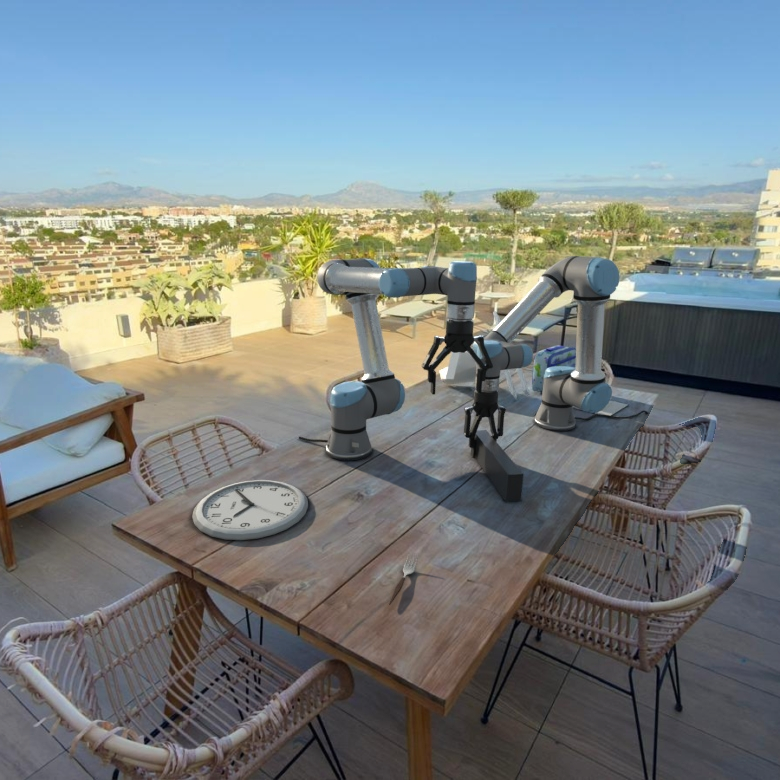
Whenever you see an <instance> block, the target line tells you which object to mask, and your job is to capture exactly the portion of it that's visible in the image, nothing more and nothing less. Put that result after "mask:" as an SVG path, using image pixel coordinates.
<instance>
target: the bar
mask: <svg viewBox="0 0 780 780" xmlns="http://www.w3.org/2000/svg"><path fill="white" fill-rule="evenodd" d="M475 438H476V454H475V458H474V459H475V460H476V462H477V463H478V464H479V465H480V467H481V468H482V470H483V472H484V473H485V474H486V476H487V477H488V478H489V480H490V481H491V483H492V484H493V486H494V487H495V488H496V490H497V491H498V492H499V495H500V496H501V497H502V499H503V500H504V501H505V503H506V502H507V503H509V502H521V501H522V495H523V484H524V472H522V470H521V469H520V468H519V467H518V466H517V464H516V463H515V462H514V461H513V460H512V458H511V457H510V455H508V453H506V451H505V450H504V449H503V448H502V447H501V446H500V445H499V443H498V442H496V441H495V440H494V439H493V438H492V434H490V433H489V432H488V430H486V429H482V430H481V429H480V430H479V429H477V432H476V435H475Z"/></svg>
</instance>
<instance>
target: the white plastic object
mask: <svg viewBox="0 0 780 780" xmlns="http://www.w3.org/2000/svg"><path fill="white" fill-rule="evenodd" d="M492 315H493V319H494V321H495V324H496V325H495V326H497V325H498V324H499V323H500V322H501V321H502V320H501V318H500V315H499V314H498V312H497V311H496V310H495V311H492ZM470 347H471V348H472V349H473V346H470ZM473 351H474V350H473ZM515 369H516V372H517V376H518V380H519V382H520V385H521V389H522V391H523V393H524V395H525V396H526V397H528V396H531V395H530V390H529V388H528V387H529V386H528V384H527V381H526V378H525V375H524V371H523V367H522V368H515ZM438 372H439V376H440V381H442V383H443V384H444V385H445V386H449V385H458V384H467V383H468V384H469V383H473V384H475V380H476V362H475V360H474V359H473V358H472V356H471V355H470V354H469V353H468V352H467V351H466V352H465V353H461V352H457V353H453V352H451V353H450V357H449V362H448V366H446V367H444V368H442V369H440V370H439V371H438ZM503 373H504V376H505V380H506V383H507V386H508V390H509V393H510V394H511V395H512V397H513V398H514V399H515V400H517V392H516V391H517V390H516V388H515V385H514V381H513V378H512V375H511V371H510V369H506V370H503Z"/></svg>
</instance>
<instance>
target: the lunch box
mask: <svg viewBox="0 0 780 780" xmlns="http://www.w3.org/2000/svg"><path fill="white" fill-rule="evenodd" d="M555 366H568V367H575V366H576V347H571V346H565V345H553V346H550V347H546V348H545V349H542V350H539V351H538V352H537V353H536V354H535V356H534V358H533V365H532V376H531V377H532V378H531V390H532V391H533V392H537V393H541V394H542V390H543V378H544V375H545V370H546V369H547V368H549V367H555Z"/></svg>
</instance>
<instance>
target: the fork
mask: <svg viewBox="0 0 780 780" xmlns="http://www.w3.org/2000/svg"><path fill="white" fill-rule="evenodd" d="M415 556H416V555H414V556H413V554H411V555H410V554H408V555H407V558H406V560H405V563H404V565H403V568H402V572H403V576H402V578H401V579H400V581H398V583H397V584H396V586H395V588H394V591H393V593H392V596H391V598H390V600H389V603H388V605H389V606H391V605H392V603H393V602H394V600H395V599H396V597H397V596H398V594H399V593H400V592H401V590H402V588H403V585H404V583H405V580H406V577H407V576H409V575H411V574H413V573H415V571H416V567H417V562H418V559H419V556H416V557H415ZM409 557H410V558H409ZM412 557H413V560H412ZM415 558H416V559H415ZM411 561H412V562H411ZM414 562H415V563H414Z"/></svg>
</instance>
